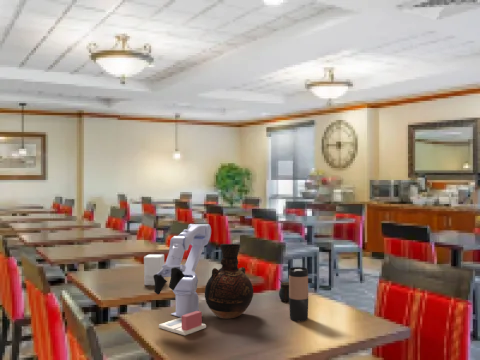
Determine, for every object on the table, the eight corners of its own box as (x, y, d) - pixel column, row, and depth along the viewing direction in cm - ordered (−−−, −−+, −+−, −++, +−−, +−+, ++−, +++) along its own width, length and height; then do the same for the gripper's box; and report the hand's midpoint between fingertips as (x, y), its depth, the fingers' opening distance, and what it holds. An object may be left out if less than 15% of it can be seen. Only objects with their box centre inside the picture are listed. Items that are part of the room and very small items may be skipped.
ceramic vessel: (216, 326, 178) (215, 248, 178) (196, 314, 193) (196, 242, 193) (262, 317, 189) (261, 243, 188) (240, 307, 204) (240, 238, 203)
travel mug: (306, 315, 191) (306, 266, 191) (310, 321, 183) (309, 270, 183) (288, 315, 191) (287, 267, 190) (290, 321, 183) (290, 271, 183)
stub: (196, 324, 180) (196, 308, 180) (206, 327, 176) (205, 311, 176) (175, 332, 171) (175, 315, 171) (184, 335, 168) (184, 318, 168)
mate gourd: (294, 303, 209) (293, 280, 209) (277, 302, 211) (276, 280, 211) (295, 298, 216) (295, 277, 216) (279, 298, 218) (278, 276, 218)
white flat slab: (180, 320, 186) (180, 317, 186) (196, 325, 180) (196, 321, 180) (158, 327, 177) (158, 324, 177) (174, 332, 171) (174, 329, 171)
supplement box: (165, 281, 253) (164, 254, 253) (160, 285, 244) (160, 257, 244) (148, 281, 254) (148, 254, 254) (143, 285, 245) (143, 256, 245)
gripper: (153, 260, 184) (143, 289, 174) (180, 250, 176) (170, 280, 167) (165, 270, 187) (155, 299, 177) (192, 261, 180) (183, 290, 170)
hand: (163, 290), depth 172 cm, fingers open, 7 cm apart
